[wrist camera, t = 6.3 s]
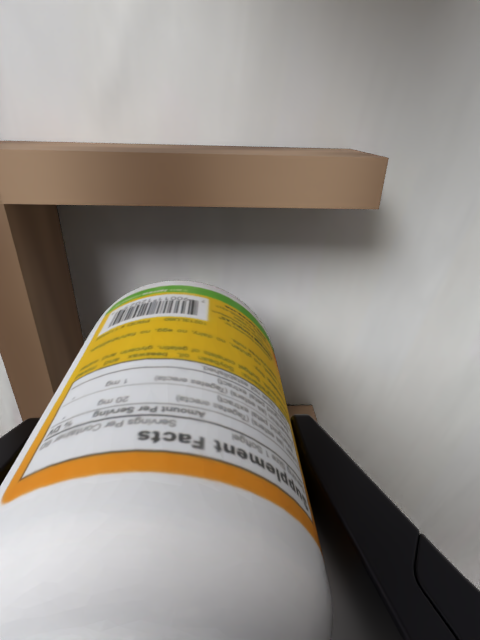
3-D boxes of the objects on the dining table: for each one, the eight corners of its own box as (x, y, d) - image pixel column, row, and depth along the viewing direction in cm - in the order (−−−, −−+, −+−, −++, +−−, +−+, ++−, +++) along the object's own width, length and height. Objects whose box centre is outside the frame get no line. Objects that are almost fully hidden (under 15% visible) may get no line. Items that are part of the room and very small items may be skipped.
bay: (350, 149, 12) (388, 157, 9) (308, 425, 17) (325, 482, 14) (1, 140, 11) (-67, 147, 8) (73, 430, 16) (45, 489, 14)
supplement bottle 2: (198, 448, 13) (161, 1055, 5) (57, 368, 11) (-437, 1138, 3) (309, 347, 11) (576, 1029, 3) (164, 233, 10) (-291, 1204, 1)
